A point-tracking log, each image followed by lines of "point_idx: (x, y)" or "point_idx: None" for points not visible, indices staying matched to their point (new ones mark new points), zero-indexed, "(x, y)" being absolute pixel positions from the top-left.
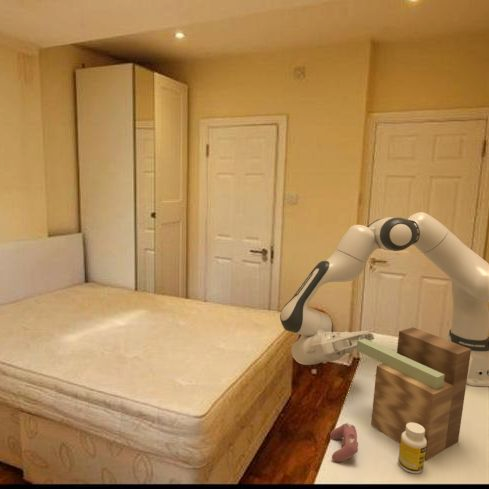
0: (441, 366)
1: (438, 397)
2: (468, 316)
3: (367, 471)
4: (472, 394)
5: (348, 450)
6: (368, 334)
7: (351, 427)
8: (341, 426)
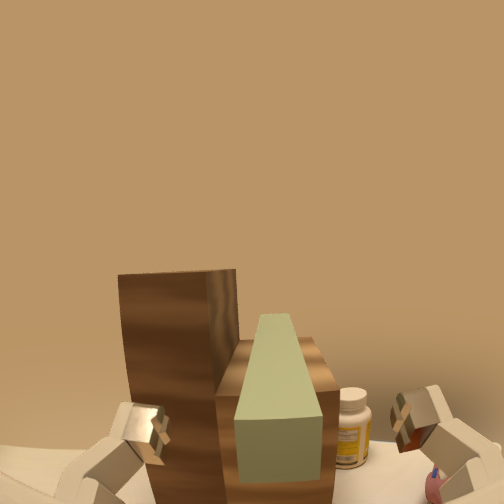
0: (234, 314)
1: None
2: None
3: (428, 458)
4: (5, 456)
5: None
6: (159, 412)
7: None
8: None
